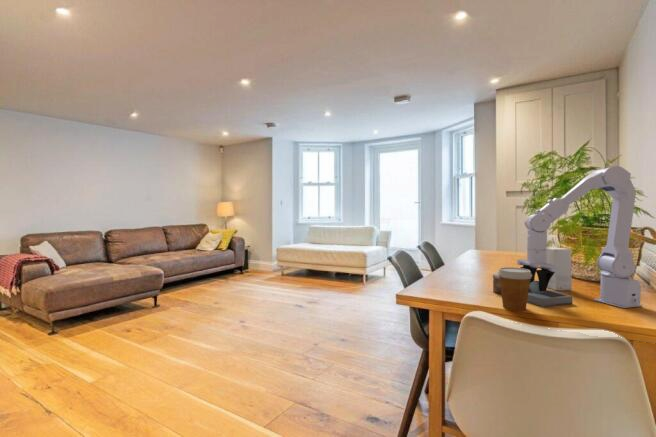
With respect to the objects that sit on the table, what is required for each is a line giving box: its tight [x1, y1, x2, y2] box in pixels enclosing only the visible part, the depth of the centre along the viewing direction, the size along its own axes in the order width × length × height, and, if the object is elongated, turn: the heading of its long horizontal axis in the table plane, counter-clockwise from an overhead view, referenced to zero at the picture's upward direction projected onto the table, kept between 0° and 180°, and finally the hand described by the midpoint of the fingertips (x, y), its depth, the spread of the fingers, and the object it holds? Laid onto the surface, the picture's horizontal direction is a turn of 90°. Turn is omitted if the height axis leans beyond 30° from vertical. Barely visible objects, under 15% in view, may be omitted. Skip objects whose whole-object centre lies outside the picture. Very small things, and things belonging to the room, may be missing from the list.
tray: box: [527, 288, 573, 308], centre depth 116 cm, size 16×12×2 cm
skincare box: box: [543, 246, 573, 292], centre depth 131 cm, size 8×7×16 cm
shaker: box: [492, 273, 502, 295], centre depth 125 cm, size 5×5×6 cm
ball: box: [529, 280, 543, 294], centre depth 116 cm, size 4×4×4 cm
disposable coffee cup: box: [497, 266, 532, 312], centre depth 106 cm, size 10×10×12 cm
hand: (536, 289), depth 116 cm, fingers closed on ball, 4 cm apart
